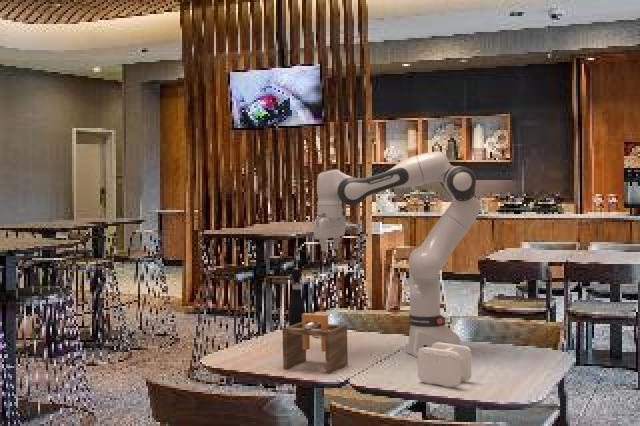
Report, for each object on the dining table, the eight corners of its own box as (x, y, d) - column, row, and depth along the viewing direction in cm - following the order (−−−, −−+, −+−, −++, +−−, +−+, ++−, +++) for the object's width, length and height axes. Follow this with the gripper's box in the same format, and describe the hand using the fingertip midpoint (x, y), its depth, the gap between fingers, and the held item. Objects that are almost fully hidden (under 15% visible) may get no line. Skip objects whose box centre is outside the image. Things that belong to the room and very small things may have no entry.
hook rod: (326, 324, 292) (325, 318, 292) (308, 330, 280) (308, 324, 280) (321, 323, 293) (320, 318, 293) (303, 330, 281) (303, 324, 281)
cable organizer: (474, 383, 262) (474, 347, 261) (457, 390, 254) (456, 352, 253) (434, 376, 272) (433, 341, 271) (416, 382, 264) (415, 346, 263)
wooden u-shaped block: (328, 350, 286) (328, 314, 285) (325, 351, 284) (324, 315, 283) (305, 348, 290) (305, 313, 290) (302, 349, 288) (301, 314, 287)
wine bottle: (303, 347, 320) (302, 270, 318) (287, 347, 321) (286, 270, 320) (307, 344, 326) (306, 268, 325) (291, 343, 327) (290, 268, 326)
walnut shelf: (347, 365, 289) (347, 325, 289) (329, 373, 277) (329, 332, 276) (302, 360, 298) (301, 321, 297) (283, 368, 285) (282, 328, 284)
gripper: (324, 214, 296) (325, 252, 297) (348, 211, 315) (348, 247, 315) (308, 214, 299) (309, 252, 300) (333, 211, 317) (334, 247, 318)
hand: (330, 249), depth 308 cm, fingers open, 8 cm apart
